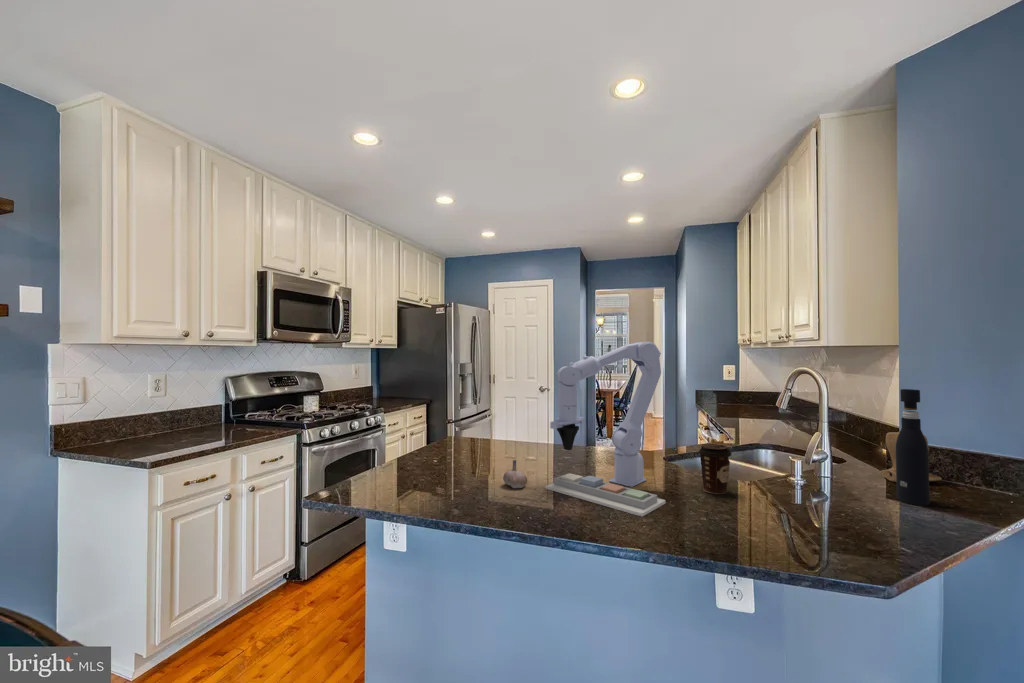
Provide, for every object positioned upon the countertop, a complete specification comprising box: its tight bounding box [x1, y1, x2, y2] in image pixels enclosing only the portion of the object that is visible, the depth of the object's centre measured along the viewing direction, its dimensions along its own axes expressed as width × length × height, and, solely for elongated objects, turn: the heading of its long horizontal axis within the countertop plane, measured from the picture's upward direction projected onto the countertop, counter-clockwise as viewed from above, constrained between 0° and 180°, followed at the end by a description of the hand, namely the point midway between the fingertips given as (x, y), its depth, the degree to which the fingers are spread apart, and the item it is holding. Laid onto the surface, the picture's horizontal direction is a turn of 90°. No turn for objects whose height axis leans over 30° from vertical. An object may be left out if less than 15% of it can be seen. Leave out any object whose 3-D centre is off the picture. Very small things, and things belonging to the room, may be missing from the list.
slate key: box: [580, 475, 604, 488], centre depth 122 cm, size 5×5×2 cm
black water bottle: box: [895, 388, 931, 507], centre depth 114 cm, size 6×6×30 cm
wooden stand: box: [879, 431, 943, 483], centre depth 133 cm, size 15×12×15 cm
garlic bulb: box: [502, 459, 528, 489], centre depth 128 cm, size 8×7×8 cm
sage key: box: [624, 488, 650, 500], centre depth 112 cm, size 5×5×2 cm
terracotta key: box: [601, 482, 625, 494], centre depth 117 cm, size 5×5×2 cm
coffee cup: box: [698, 443, 732, 495], centre depth 123 cm, size 9×8×13 cm
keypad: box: [544, 473, 667, 518], centre depth 120 cm, size 13×31×3 cm, turn 45°
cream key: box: [561, 473, 584, 483], centre depth 127 cm, size 5×5×2 cm
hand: (567, 449), depth 131 cm, fingers closed
